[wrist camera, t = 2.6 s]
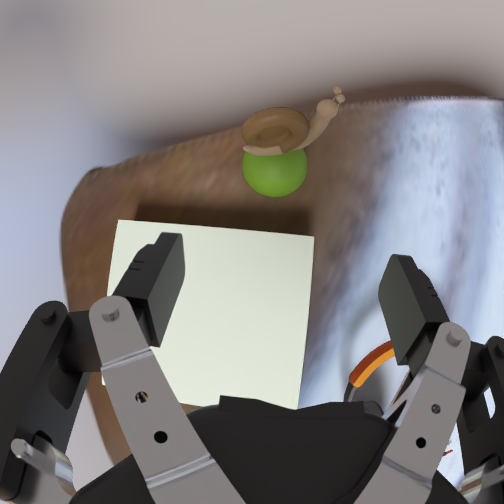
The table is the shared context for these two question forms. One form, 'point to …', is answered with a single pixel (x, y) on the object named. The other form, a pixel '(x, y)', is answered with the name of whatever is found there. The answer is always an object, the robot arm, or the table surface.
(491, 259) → the table surface
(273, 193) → the snail figurine
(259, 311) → the sage board
